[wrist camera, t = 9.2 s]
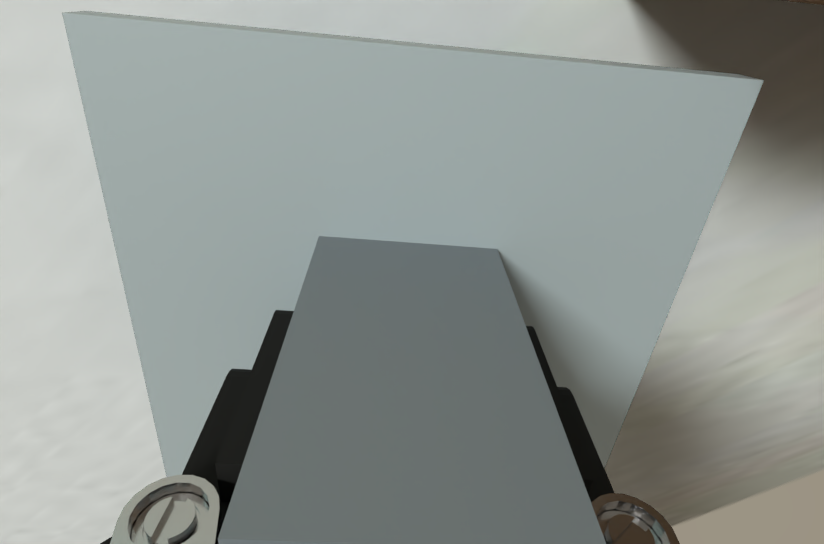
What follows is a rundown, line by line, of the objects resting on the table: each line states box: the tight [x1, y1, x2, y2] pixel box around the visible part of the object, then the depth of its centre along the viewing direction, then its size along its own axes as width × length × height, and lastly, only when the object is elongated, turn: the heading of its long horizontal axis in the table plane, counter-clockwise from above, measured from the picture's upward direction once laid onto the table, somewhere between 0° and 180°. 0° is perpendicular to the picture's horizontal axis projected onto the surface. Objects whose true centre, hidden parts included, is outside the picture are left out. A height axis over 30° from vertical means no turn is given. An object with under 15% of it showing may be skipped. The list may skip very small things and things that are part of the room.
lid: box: [62, 11, 764, 544], centre depth 10 cm, size 13×13×9 cm
